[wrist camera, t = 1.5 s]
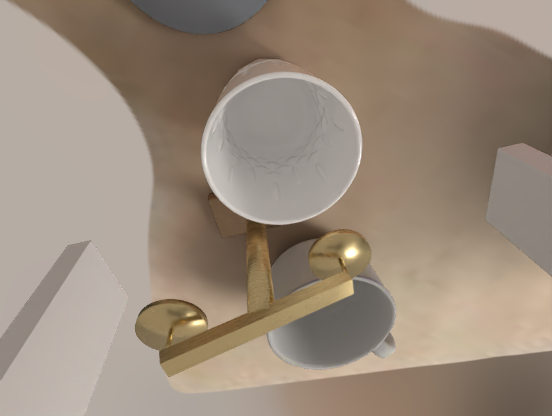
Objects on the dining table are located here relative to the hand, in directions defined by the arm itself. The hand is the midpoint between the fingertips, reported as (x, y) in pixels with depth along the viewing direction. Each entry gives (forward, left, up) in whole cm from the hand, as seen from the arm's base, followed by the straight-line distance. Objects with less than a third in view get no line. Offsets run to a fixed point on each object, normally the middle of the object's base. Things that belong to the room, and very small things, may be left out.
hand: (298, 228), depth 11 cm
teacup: (-2, +18, -16) cm, 24 cm away
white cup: (0, 0, -16) cm, 16 cm away
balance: (+3, +8, -16) cm, 18 cm away
